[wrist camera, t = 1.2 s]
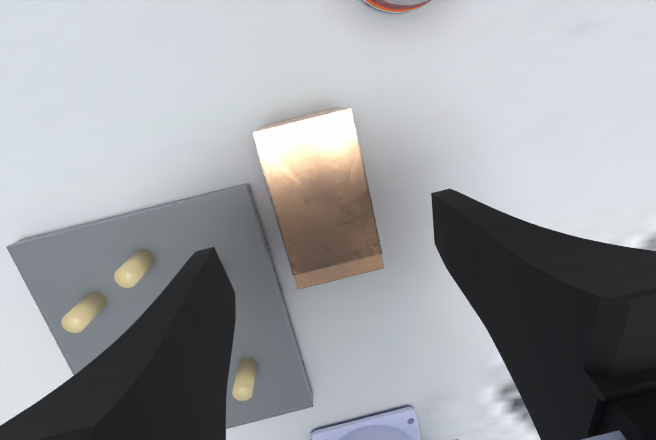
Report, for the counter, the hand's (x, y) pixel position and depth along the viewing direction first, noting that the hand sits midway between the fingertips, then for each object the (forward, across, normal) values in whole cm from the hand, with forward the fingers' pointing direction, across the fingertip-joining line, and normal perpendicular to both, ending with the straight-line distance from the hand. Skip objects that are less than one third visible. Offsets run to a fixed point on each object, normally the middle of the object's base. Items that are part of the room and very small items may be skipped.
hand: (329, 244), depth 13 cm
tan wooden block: (+11, 0, +3) cm, 11 cm away
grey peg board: (+9, +11, +10) cm, 17 cm away
